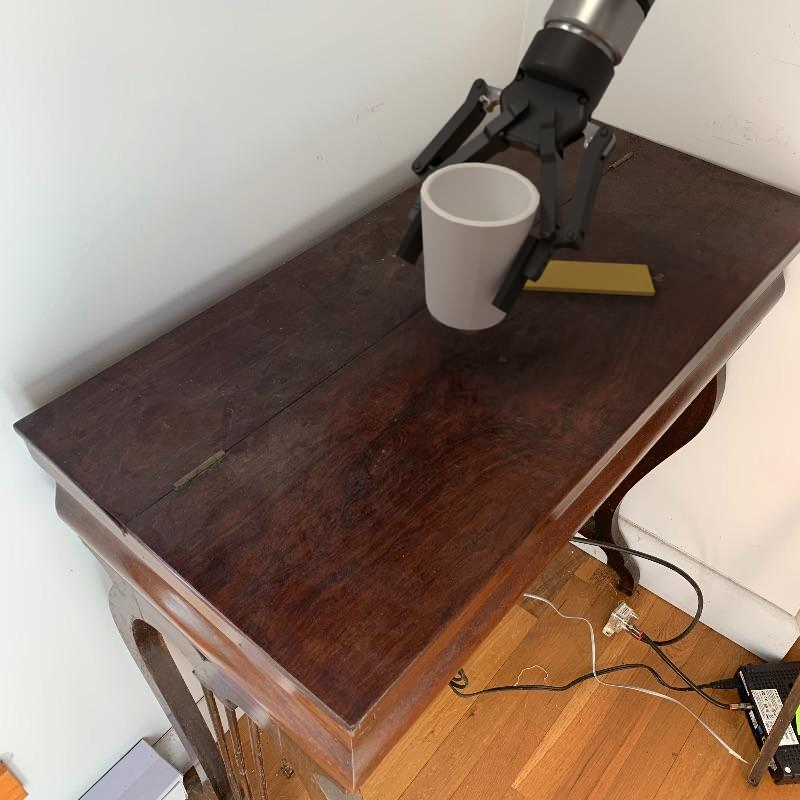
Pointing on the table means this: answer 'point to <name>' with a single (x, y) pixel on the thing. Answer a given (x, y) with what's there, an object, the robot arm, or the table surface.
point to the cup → (472, 239)
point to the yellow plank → (594, 278)
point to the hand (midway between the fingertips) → (450, 284)
